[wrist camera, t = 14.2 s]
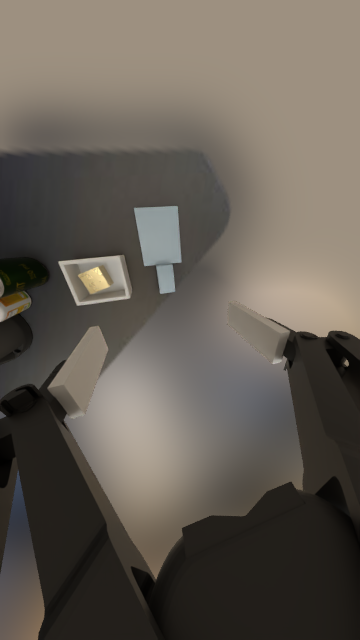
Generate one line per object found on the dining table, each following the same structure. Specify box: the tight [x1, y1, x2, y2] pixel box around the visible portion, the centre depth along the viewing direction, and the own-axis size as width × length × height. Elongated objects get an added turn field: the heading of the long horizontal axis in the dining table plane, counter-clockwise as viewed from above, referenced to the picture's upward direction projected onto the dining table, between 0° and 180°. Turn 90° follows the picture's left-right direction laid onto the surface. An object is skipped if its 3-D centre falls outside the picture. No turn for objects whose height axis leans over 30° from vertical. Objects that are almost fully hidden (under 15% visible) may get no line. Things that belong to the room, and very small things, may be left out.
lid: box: [134, 206, 181, 294], centre depth 31 cm, size 17×9×4 cm, turn 3°
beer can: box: [0, 257, 49, 299], centre depth 24 cm, size 5×5×12 cm
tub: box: [58, 255, 132, 306], centre depth 29 cm, size 10×8×6 cm
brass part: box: [78, 265, 114, 294], centre depth 30 cm, size 4×4×4 cm
